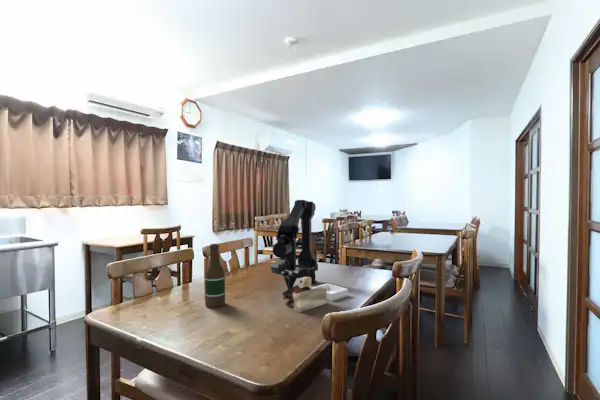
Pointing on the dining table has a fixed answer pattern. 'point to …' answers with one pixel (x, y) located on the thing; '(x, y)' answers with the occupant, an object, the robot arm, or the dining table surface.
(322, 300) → the block
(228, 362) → the dining table surface
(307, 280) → the peg
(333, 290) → the tray
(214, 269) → the beer bottle
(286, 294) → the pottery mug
